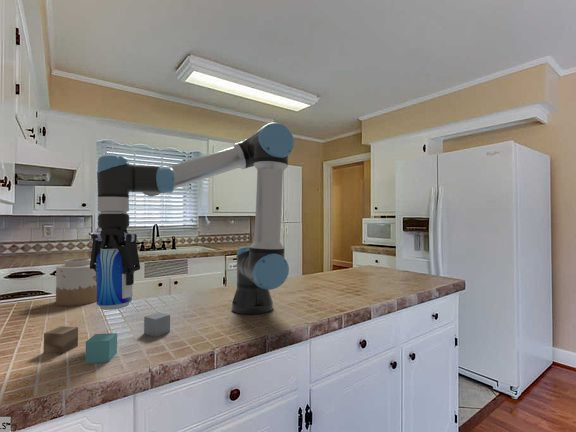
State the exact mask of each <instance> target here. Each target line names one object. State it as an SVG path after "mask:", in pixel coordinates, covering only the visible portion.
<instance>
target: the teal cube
mask: <svg viewBox="0 0 576 432" xmlns="http://www.w3.org/2000/svg"><path fill="white" fill-rule="evenodd" d="M117 353H118V333H117V332H111V333H95V334H94V335H92V336H91V337H90V338H88V339H87V340H86V341H85V364H95V363H96V364H98V363H109V362H111V360H112V359H113V358H114V357H115V356H116V355H117Z"/></svg>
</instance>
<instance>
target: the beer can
mask: <svg viewBox="0 0 576 432" xmlns="http://www.w3.org/2000/svg"><path fill="white" fill-rule="evenodd" d="M100 250H101V251H100V252H99V254H98V255H97V257H96V275H97V302H96V305H97V306H98V307H99V309H101V310H103V311H111V310H119V309H123V308H126V307H128V306H129V305H130V303H131V302H132V300H133V296H131V297H128V298H122V274H123V272H124V269H123V267H122V257H121V254H120V252H119V250H118V249H114V248H112V249H102V248H101V249H100ZM128 268H129V267H128Z"/></svg>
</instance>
